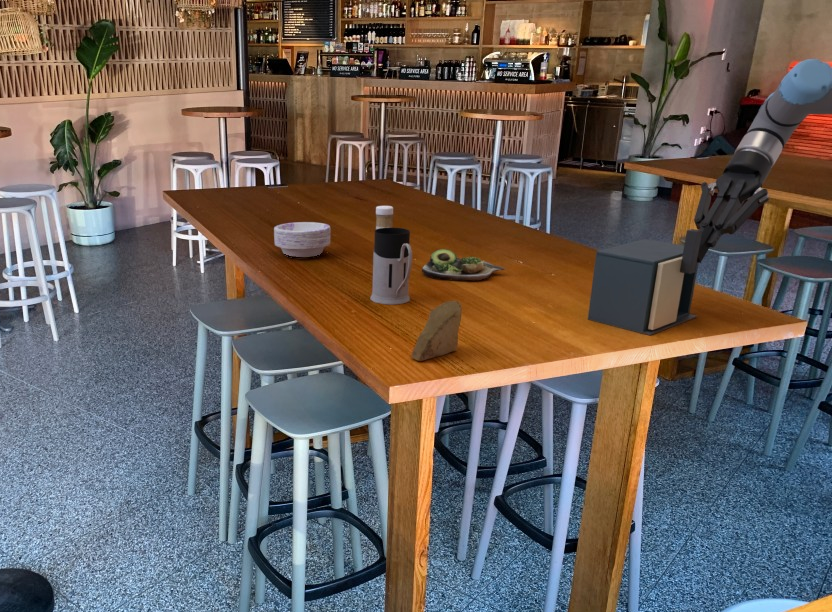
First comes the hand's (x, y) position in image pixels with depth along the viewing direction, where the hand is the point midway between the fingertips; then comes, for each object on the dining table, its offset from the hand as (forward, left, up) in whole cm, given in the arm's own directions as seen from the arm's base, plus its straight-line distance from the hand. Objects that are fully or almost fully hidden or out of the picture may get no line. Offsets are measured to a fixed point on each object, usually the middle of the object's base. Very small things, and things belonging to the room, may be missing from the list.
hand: (695, 257), depth 151 cm
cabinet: (+8, +2, -13) cm, 16 cm away
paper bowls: (+97, +19, -14) cm, 100 cm away
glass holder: (+48, +32, -14) cm, 60 cm away
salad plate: (+57, +2, -14) cm, 59 cm away
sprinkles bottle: (+81, +4, -14) cm, 83 cm away
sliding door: (0, +6, -13) cm, 14 cm away
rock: (+20, +50, -14) cm, 56 cm away
